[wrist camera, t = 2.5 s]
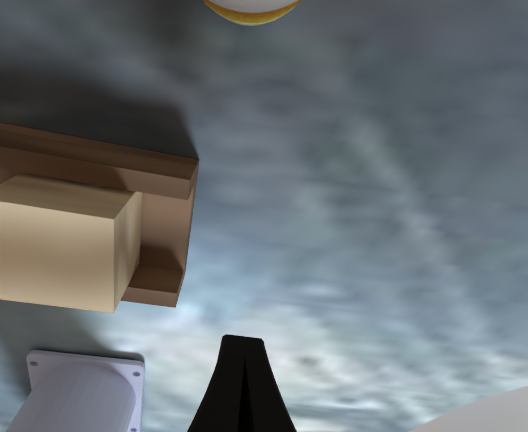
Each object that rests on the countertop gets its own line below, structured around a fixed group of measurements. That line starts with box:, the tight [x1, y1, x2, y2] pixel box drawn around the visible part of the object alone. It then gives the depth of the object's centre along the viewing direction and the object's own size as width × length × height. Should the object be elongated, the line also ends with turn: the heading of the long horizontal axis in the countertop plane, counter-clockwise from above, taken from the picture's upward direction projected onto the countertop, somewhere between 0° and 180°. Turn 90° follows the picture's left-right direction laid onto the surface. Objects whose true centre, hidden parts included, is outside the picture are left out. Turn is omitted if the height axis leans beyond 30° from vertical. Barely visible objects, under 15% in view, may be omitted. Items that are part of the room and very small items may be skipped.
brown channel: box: [0, 123, 199, 307], centre depth 16 cm, size 8×18×3 cm, turn 78°
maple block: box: [0, 172, 143, 313], centre depth 15 cm, size 5×5×4 cm
